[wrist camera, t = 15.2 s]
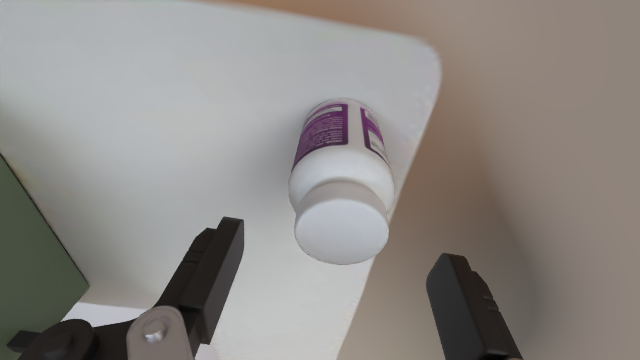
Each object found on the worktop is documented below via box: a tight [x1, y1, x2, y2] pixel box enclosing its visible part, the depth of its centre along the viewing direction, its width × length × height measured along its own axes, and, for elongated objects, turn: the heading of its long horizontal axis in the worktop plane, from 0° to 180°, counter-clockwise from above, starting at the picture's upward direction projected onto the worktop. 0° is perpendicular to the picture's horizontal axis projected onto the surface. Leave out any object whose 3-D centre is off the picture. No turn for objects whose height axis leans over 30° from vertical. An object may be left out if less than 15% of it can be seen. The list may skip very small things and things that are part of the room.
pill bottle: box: [289, 98, 395, 265], centre depth 15 cm, size 5×5×10 cm
